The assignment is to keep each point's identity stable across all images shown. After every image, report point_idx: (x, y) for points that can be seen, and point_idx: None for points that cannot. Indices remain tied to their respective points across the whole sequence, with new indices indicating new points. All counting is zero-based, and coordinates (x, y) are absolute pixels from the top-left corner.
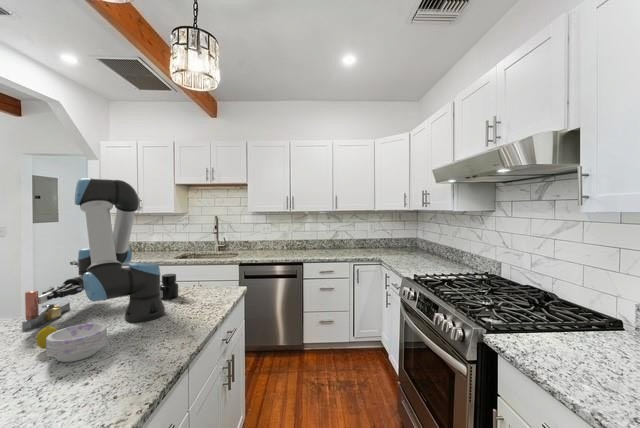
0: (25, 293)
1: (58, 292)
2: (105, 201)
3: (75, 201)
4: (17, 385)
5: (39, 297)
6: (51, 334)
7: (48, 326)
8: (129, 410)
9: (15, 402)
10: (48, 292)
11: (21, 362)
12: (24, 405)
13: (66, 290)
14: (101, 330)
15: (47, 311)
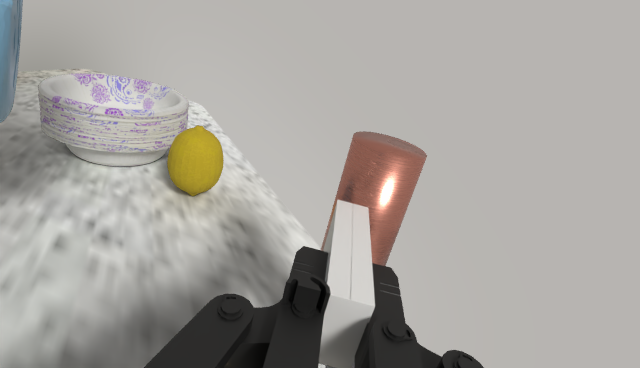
0: (405, 143)
1: (270, 344)
2: None
3: None
4: (212, 133)
5: (347, 205)
6: (180, 103)
7: (197, 125)
8: (85, 72)
9: (202, 115)
10: (374, 306)
11: (235, 175)
12: (190, 109)
13: (159, 356)
14: (65, 74)
15: None
